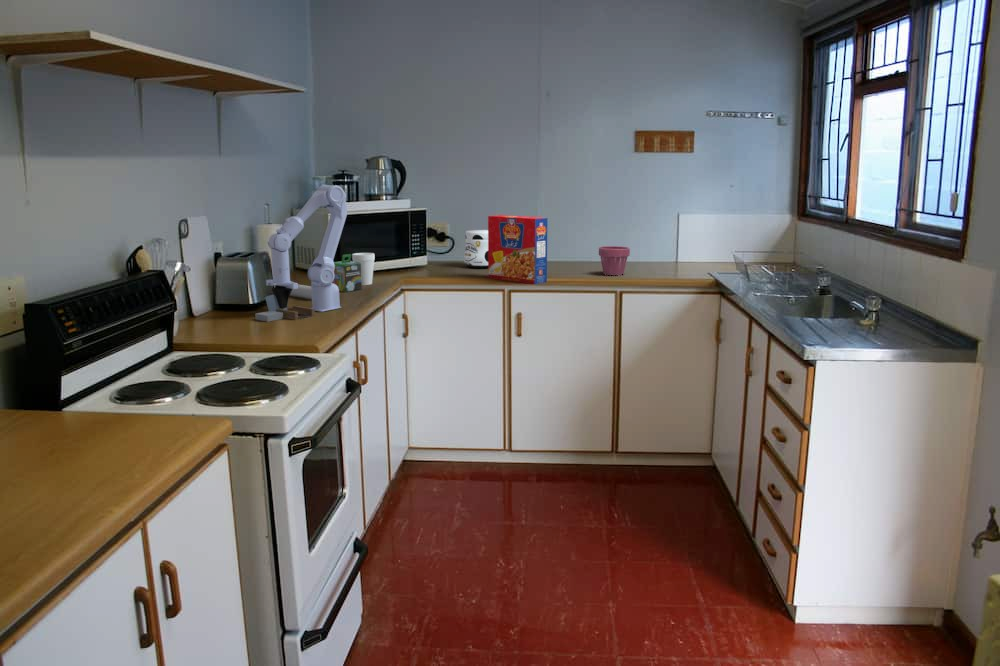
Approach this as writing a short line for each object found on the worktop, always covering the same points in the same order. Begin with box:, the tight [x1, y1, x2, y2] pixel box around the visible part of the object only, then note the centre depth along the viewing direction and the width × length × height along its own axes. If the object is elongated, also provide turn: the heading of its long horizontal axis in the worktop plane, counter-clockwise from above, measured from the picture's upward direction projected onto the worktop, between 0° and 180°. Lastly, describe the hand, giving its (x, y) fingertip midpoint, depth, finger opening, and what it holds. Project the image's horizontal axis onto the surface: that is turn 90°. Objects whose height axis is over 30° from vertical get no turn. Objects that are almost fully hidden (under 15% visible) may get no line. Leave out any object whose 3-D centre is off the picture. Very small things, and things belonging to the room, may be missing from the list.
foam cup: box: [351, 252, 376, 286], centre depth 342 cm, size 10×9×13 cm
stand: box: [254, 310, 284, 323], centre depth 266 cm, size 6×6×2 cm
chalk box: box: [332, 253, 363, 293], centre depth 325 cm, size 9×9×15 cm
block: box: [264, 293, 288, 312], centre depth 276 cm, size 4×4×6 cm
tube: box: [283, 284, 312, 301], centre depth 311 cm, size 5×5×25 cm
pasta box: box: [487, 214, 548, 285], centre depth 351 cm, size 28×8×28 cm, turn 46°
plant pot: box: [598, 245, 631, 276], centre depth 368 cm, size 14×14×13 cm
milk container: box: [463, 229, 488, 269], centre depth 395 cm, size 17×17×18 cm
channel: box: [276, 305, 316, 320], centre depth 271 cm, size 8×10×2 cm
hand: (283, 307), depth 274 cm, fingers closed
